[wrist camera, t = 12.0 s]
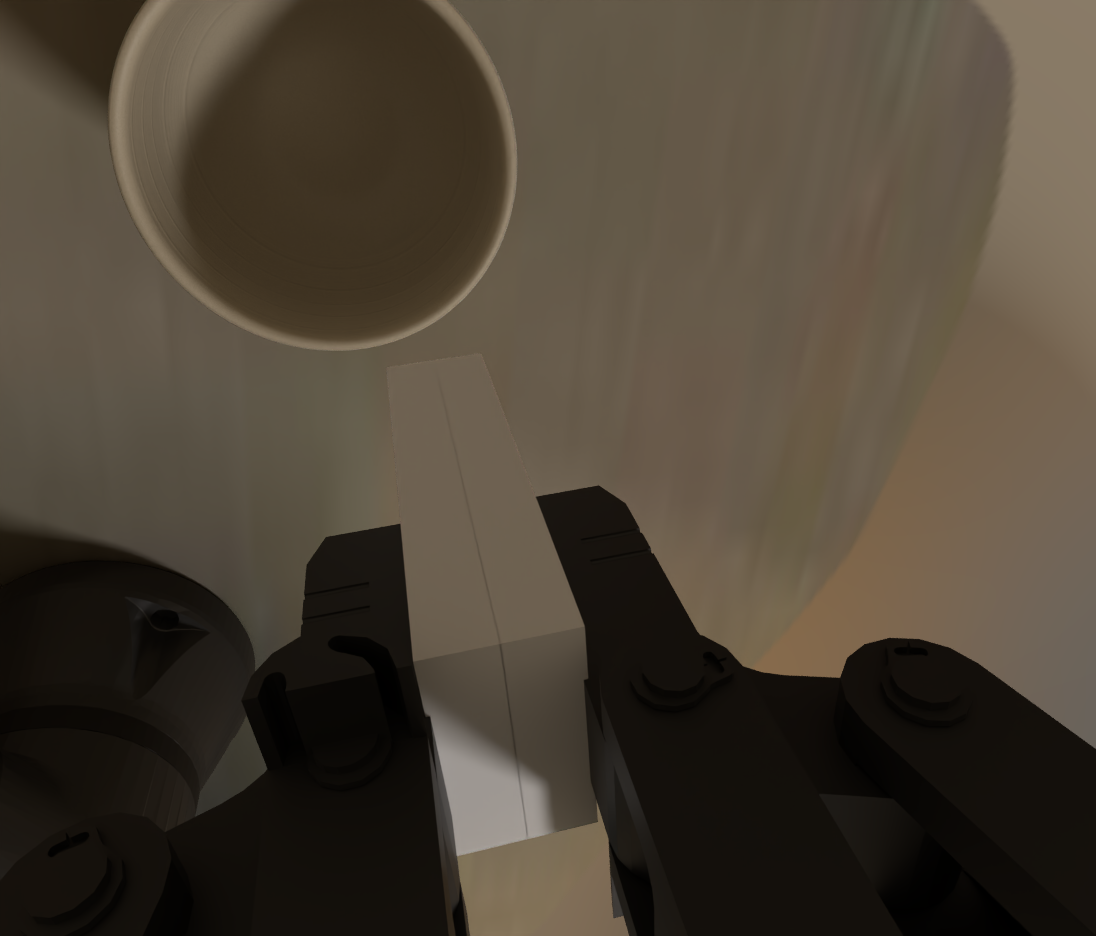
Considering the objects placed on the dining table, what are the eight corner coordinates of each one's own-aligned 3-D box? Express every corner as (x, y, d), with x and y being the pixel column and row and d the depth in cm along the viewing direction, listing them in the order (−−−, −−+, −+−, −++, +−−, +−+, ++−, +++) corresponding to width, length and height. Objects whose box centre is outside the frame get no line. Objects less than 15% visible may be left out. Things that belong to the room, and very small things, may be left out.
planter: (123, 157, 33) (32, 211, 24) (274, -124, 29) (237, -189, 20) (378, 318, 38) (385, 413, 29) (529, 98, 35) (592, 126, 26)
